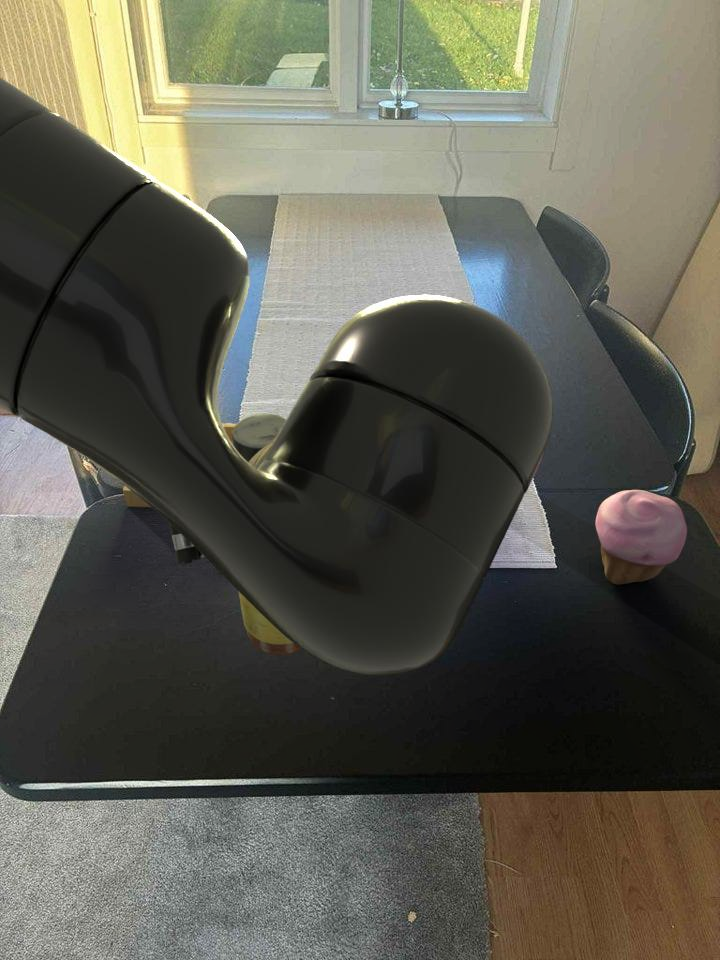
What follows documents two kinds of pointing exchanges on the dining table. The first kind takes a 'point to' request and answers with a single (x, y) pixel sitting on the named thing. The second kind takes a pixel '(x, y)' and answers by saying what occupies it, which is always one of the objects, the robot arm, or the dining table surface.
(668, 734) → the dining table surface
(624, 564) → the cupcake
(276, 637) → the sauce bottle
